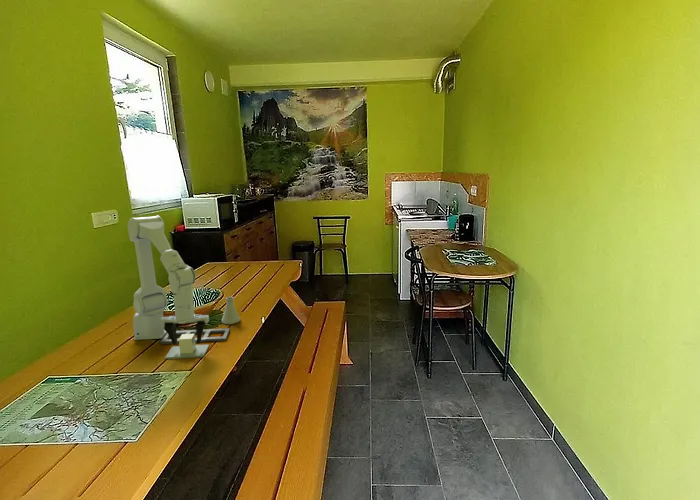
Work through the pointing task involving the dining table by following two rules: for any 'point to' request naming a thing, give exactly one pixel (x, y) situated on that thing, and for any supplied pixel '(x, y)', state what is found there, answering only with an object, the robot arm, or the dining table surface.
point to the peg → (187, 343)
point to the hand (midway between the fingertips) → (187, 343)
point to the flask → (230, 312)
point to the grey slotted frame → (204, 338)
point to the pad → (197, 352)
